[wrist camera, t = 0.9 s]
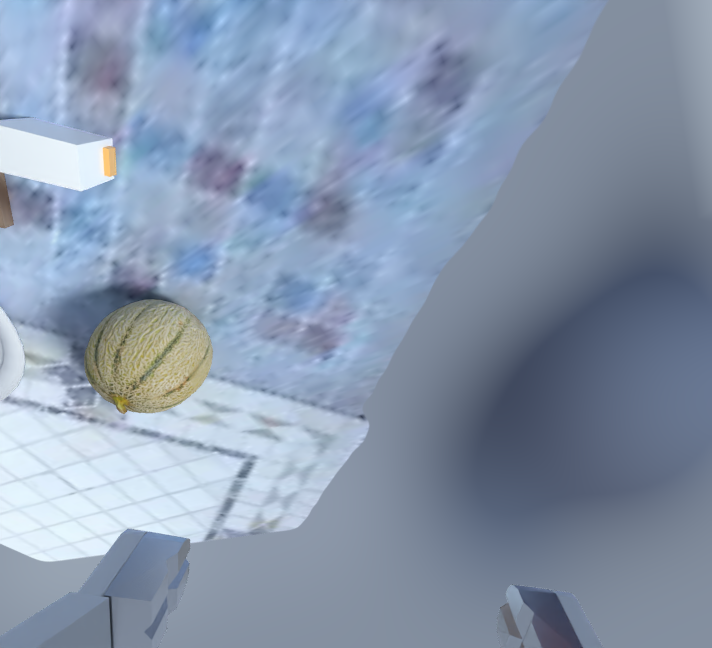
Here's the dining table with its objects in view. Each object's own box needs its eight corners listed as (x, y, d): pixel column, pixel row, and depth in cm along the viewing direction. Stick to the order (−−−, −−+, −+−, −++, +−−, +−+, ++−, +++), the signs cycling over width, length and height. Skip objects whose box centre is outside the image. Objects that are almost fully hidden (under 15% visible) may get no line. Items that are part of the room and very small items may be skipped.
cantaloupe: (224, 289, 53) (190, 351, 40) (223, 370, 61) (194, 444, 48) (111, 274, 51) (39, 334, 38) (124, 360, 58) (67, 434, 46)
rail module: (33, 117, 41) (-17, 121, 35) (118, 139, 43) (83, 146, 37) (39, 160, 44) (-7, 170, 38) (119, 179, 45) (87, 192, 39)
